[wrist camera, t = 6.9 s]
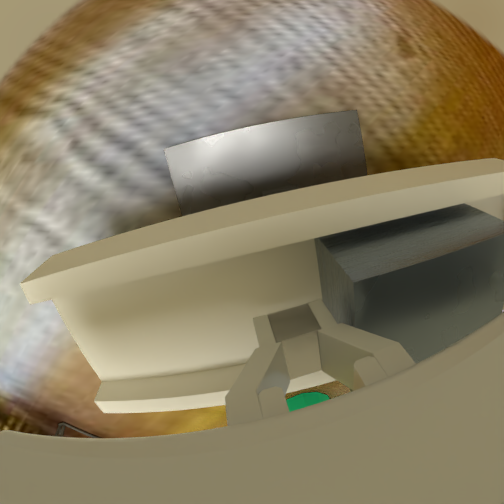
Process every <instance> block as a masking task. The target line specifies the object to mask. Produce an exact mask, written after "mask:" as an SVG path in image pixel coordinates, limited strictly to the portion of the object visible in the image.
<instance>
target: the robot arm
mask: <svg viewBox="0 0 504 504" xmlns="http://www.w3.org/2000/svg"><path fill="white" fill-rule="evenodd" d="M253 323H254V327H255V332H256V336H257V340H258V344H259V348H256V349H255V350H254V352H253V353H252V355H251V356H250V358H249V360H248V361H247V363H246V365H245V366H244V368H243V370H242V371H241V373H240V374H239V376H238V378H237V379H236V381H235V382H234V384H233V385H232V387H231V389H230V390H229V392H228V393H227V395H226V396H225V403H226V414H227V424H228V426H227V427H221V428H215V429H209V430H203V431H196V432H189V433H181V434H172V435H162V436H150V437H134V438H71V437H56V436H45V435H36V434H28V433H21V432H15V431H9V430H4V431H1V432H0V504H504V312H502V313H501V314H500V315H498V316H497V317H495V318H494V319H492V320H491V321H489V322H488V323H486V324H485V325H483V326H482V327H480V328H479V329H477V330H475V331H474V332H472V333H471V334H469V335H467V336H466V337H464V338H462V339H461V340H459V341H457V342H456V343H454V344H452V345H450V346H449V347H447V348H445V349H443V350H441V351H440V352H438V353H436V354H434V355H432V356H430V357H428V358H426V359H424V360H422V361H420V362H418V363H415V362H414V361H413V359H412V358H411V357H410V356H409V354H408V353H407V352H406V351H405V349H404V348H403V347H402V346H401V344H400V343H399V342H396V341H393V340H390V339H387V338H384V337H381V336H378V335H375V334H372V333H369V332H367V331H364V330H361V329H358V328H355V327H352V326H349V325H347V324H344V323H339V324H337V322H336V320H335V319H334V317H333V316H332V314H331V313H330V311H329V310H328V308H327V307H326V305H325V304H324V302H323V301H322V299H317V300H314V301H311V302H308V303H306V304H303V305H300V306H297V307H293V308H289V309H285V310H281V311H277V312H273V313H269V314H267V315H262V316H258V317H254V318H253ZM321 370H322V371H323V372H324V373H326V374H328V375H329V376H331V377H332V378H334V379H336V380H337V381H339V382H340V383H342V384H344V385H345V386H347V387H349V388H350V389H352V390H353V391H352V392H349V393H346V394H344V395H341V396H338V397H335V398H332V399H329V400H326V401H323V402H320V403H317V404H314V405H311V406H308V407H304V408H301V409H298V410H294V411H291V412H289V409H288V406H287V402H286V399H285V395H286V392H287V389H288V386H289V384H290V380H291V379H295V378H298V377H301V376H304V375H307V374H311V373H314V372H317V371H321Z"/></svg>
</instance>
